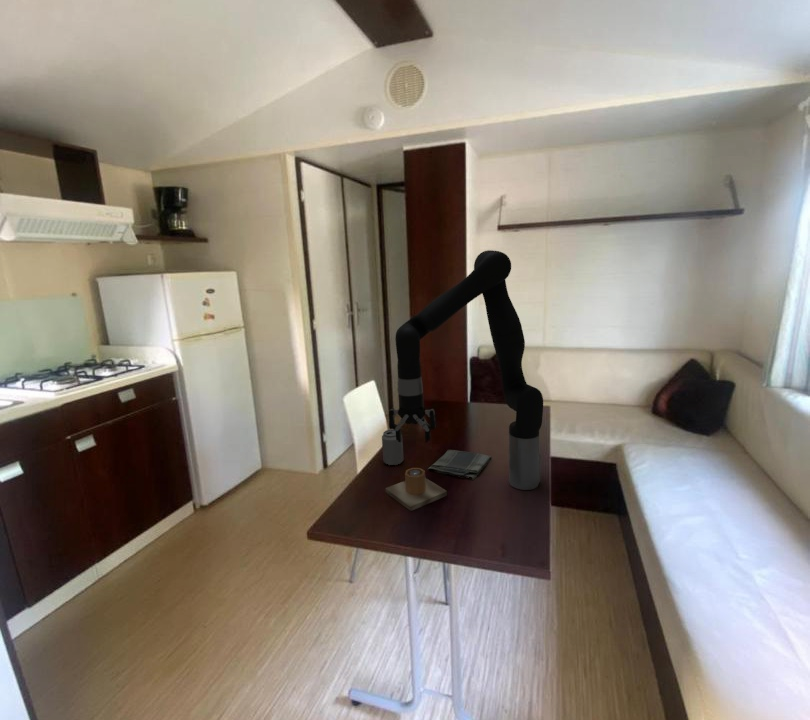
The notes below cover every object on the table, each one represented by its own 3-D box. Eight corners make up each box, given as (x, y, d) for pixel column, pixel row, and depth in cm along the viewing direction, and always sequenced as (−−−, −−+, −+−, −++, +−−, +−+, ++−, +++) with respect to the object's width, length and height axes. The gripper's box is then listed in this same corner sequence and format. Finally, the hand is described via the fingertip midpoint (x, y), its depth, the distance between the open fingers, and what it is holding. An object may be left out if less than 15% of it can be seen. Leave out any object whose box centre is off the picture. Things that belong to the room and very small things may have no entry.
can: (391, 456, 165) (389, 426, 162) (407, 460, 160) (405, 430, 158) (379, 463, 159) (377, 433, 156) (395, 468, 154) (393, 437, 152)
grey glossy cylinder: (416, 486, 138) (415, 468, 137) (422, 490, 135) (421, 472, 134) (408, 489, 136) (407, 472, 135) (414, 493, 134) (413, 475, 132)
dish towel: (448, 452, 166) (447, 444, 166) (492, 460, 158) (492, 452, 157) (426, 473, 151) (426, 464, 150) (474, 483, 142) (474, 474, 141)
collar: (408, 484, 139) (407, 467, 138) (426, 485, 138) (425, 468, 137) (404, 494, 134) (403, 476, 132) (423, 495, 132) (423, 477, 131)
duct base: (420, 478, 146) (420, 474, 145) (447, 495, 134) (446, 491, 134) (385, 492, 138) (385, 488, 138) (410, 511, 127) (410, 506, 126)
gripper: (435, 387, 131) (437, 437, 135) (390, 387, 134) (393, 436, 137) (432, 394, 124) (434, 447, 128) (384, 395, 127) (388, 446, 130)
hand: (413, 441), depth 132 cm, fingers open, 8 cm apart
